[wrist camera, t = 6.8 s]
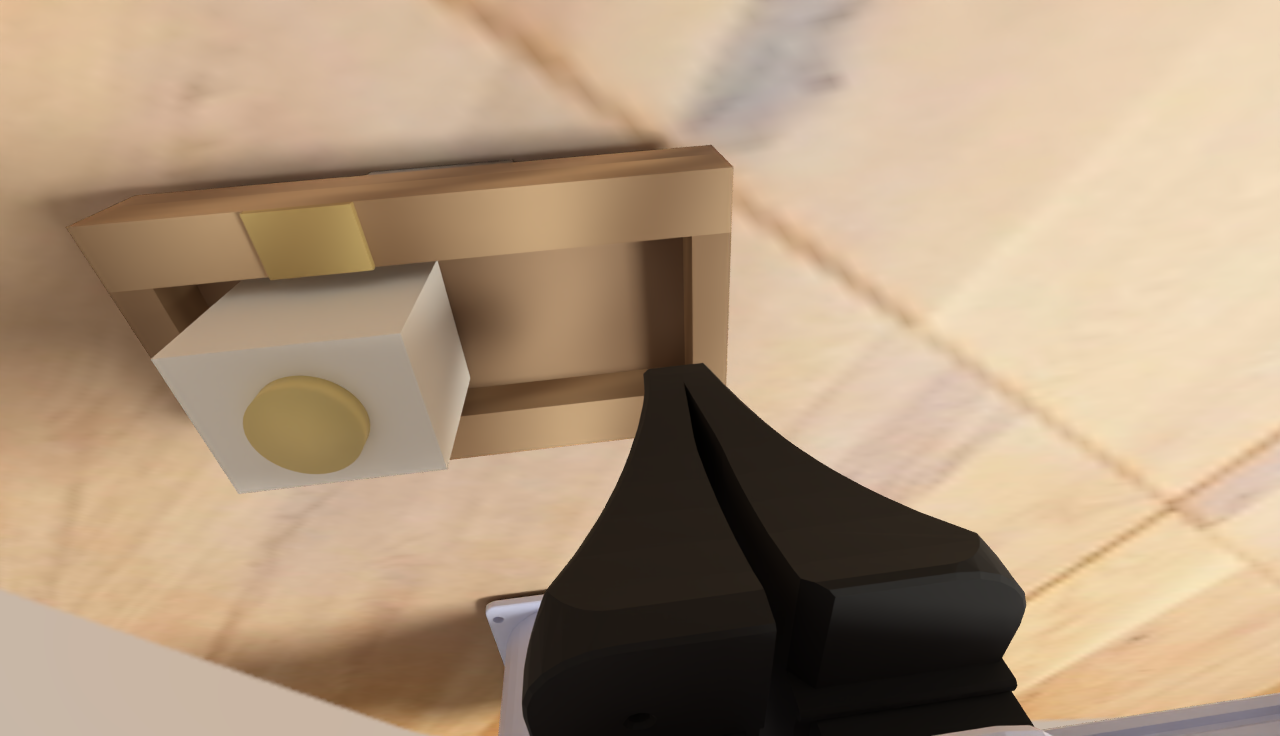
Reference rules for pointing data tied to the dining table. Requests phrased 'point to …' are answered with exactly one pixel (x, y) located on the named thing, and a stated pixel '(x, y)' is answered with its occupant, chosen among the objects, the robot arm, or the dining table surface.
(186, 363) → the block
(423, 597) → the dining table surface
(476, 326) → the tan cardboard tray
